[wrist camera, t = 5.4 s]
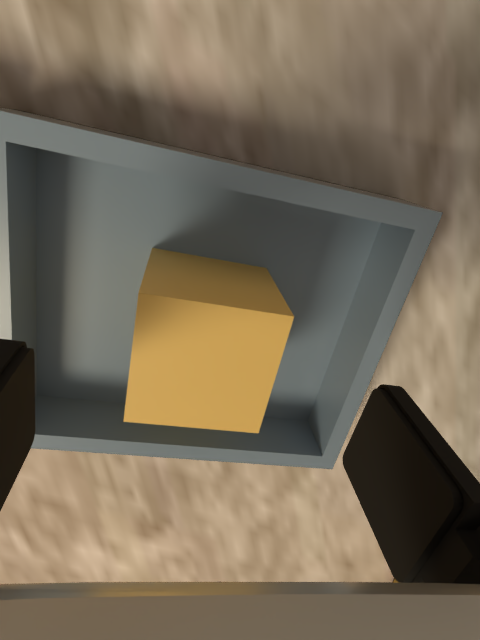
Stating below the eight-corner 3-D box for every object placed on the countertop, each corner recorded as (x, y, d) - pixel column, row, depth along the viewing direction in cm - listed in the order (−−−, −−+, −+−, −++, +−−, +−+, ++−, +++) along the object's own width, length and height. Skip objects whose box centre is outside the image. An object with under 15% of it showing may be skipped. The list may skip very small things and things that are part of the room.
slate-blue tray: (314, 428, 22) (332, 469, 19) (22, 401, 19) (-6, 445, 16) (402, 199, 17) (443, 212, 14) (16, 109, 14) (-26, 104, 11)
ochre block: (242, 362, 19) (258, 433, 15) (139, 350, 18) (123, 421, 14) (266, 267, 17) (294, 316, 13) (152, 247, 16) (138, 292, 12)
